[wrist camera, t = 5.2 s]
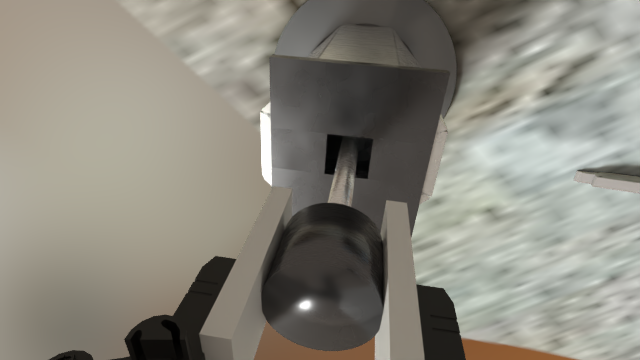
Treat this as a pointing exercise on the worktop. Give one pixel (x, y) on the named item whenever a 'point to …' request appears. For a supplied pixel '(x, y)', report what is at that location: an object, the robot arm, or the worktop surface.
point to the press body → (355, 120)
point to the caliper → (609, 180)
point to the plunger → (329, 265)
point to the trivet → (383, 10)
